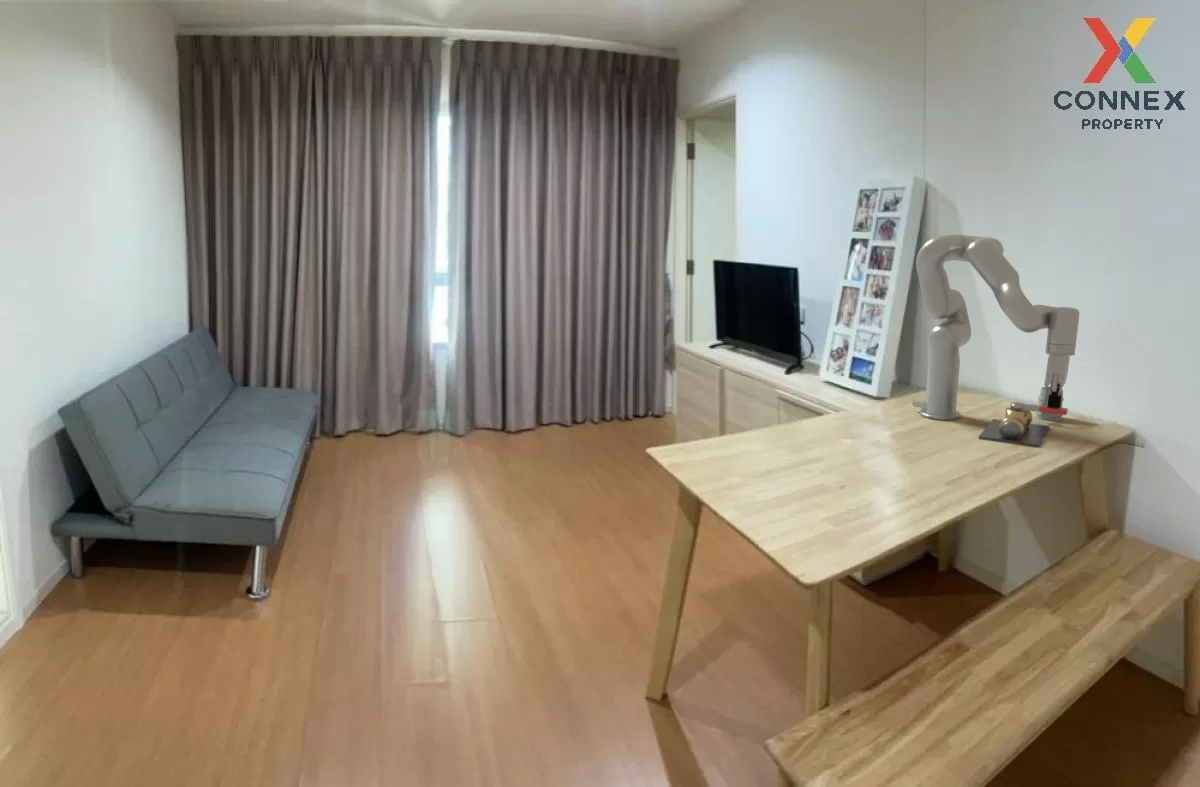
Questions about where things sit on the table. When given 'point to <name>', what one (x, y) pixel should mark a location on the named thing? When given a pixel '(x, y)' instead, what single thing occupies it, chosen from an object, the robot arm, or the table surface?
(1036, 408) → the lever
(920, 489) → the table surface
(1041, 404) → the mug
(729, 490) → the table surface
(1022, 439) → the valve body
